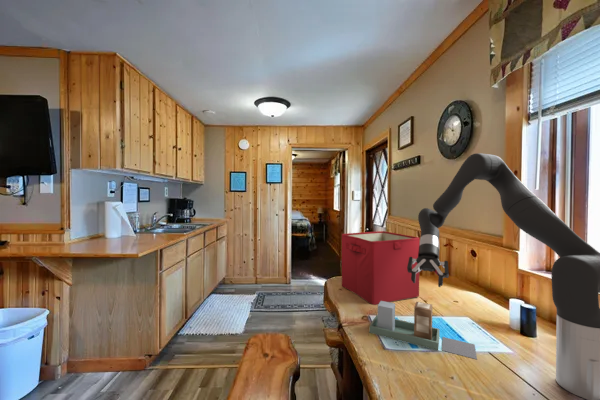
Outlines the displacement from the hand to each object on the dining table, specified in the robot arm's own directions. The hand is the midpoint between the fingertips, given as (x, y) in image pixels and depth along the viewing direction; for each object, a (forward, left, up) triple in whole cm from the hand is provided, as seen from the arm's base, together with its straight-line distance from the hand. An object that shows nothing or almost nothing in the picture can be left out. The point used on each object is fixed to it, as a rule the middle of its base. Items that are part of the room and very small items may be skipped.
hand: (426, 284), depth 98 cm
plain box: (-3, +16, -15) cm, 22 cm away
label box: (-10, +7, -15) cm, 19 cm away
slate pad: (-15, -2, -16) cm, 22 cm away
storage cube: (+36, +4, -16) cm, 39 cm away
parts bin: (-6, +12, -16) cm, 20 cm away
